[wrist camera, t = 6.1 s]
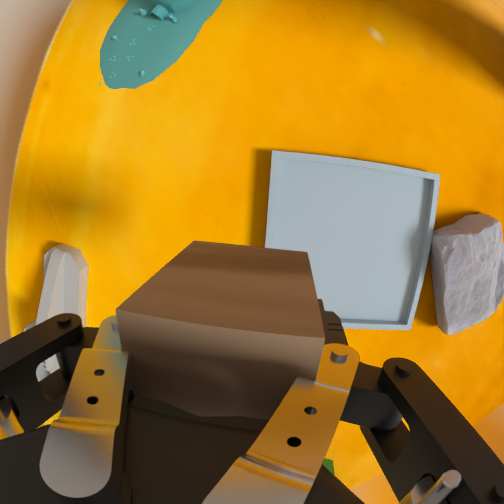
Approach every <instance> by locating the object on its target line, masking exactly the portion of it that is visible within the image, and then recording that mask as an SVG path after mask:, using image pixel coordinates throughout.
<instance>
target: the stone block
mask: <svg viewBox="0 0 504 504" xmlns="http://www.w3.org/2000/svg"><path fill="white" fill-rule="evenodd" d="M502 238H503V235H502V229H501V224H500V222H499V221H498V220H496V219H495V218H493V217H491V216H489V215H486V214H469V215H465V216H464V217H462V218H461V219H459V220H457V221H456V222H455V223H453V224H451V225H448V226H443V227H441V228H439V229H437V230H435V231H433V235H432V241H431V246H430V252H429V259H430V266H431V273H432V281H433V290H434V298H435V310H436V321H437V324H438V327H439V328H440V329H441V330H442V332H444V333H446V334H447V335H451V334H456V333H458V332H460V331H463V330H464V329H466V328H468V327H471V326H473V325H475V324H477V323H479V322H481V321H483V320H485V319H487V318H488V317H489V316H490V315H491V314H493V313H494V312H495V311H496V310H497V308H498V305H499V304H500V303H501V301H502V298H503V296H504V245H503V241H502Z"/></svg>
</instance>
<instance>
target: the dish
mask: <svg viewBox="0 0 504 504" xmlns="http://www.w3.org/2000/svg"><path fill="white" fill-rule="evenodd" d="M439 182H440V175H439V174H435V173H430V172H425V171H420V170H415V169H410V168H405V167H399V166H394V165H388V164H382V163H376V162H369V161H363V160H356V159H348V158H341V157H333V156H325V155H316V154H306V153H296V152H284V151H272V159H271V173H270V187H269V201H268V214H267V227H266V241H265V248H274V249H283V250H293V251H303V252H308V257H309V261H310V266H311V270H312V275H313V280H314V284H315V289H316V294H317V299H322V301H323V305H324V309H325V311H333V312H334V313H335V314H336V315H338V316H339V317H340V320H341V323H342V326H343V328H353V329H383V330H410V329H411V326H412V323H413V319H414V316H415V312H416V308H417V305H418V301H419V297H420V293H421V289H422V285H423V280H424V276H425V271H426V267H427V262H428V257H429V252H430V246H431V241H432V235H433V229H434V223H435V216H436V209H437V201H438V192H439Z"/></svg>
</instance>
